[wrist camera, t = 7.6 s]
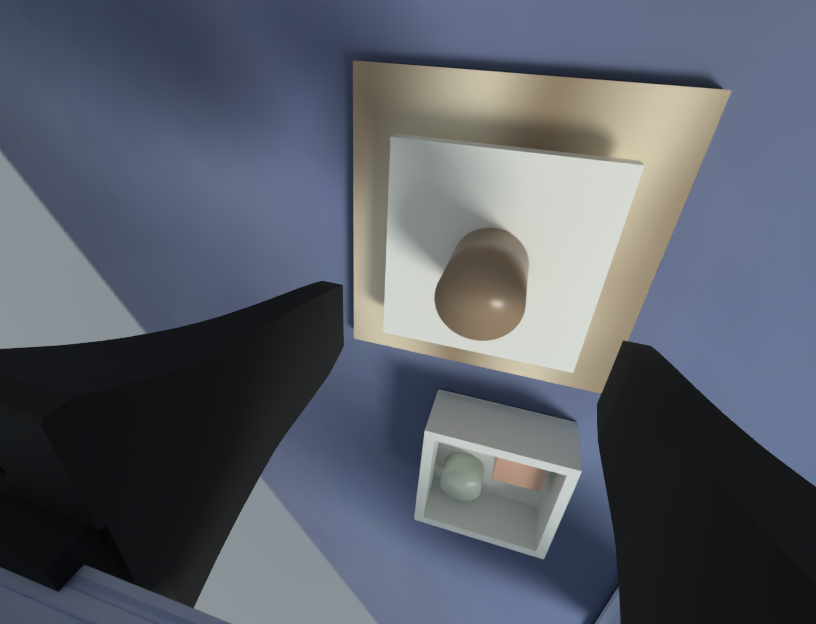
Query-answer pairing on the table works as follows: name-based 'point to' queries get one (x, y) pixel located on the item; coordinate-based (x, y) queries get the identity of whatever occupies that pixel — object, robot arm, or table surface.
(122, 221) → the table surface
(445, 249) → the lid
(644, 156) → the birch board
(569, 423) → the storage box
